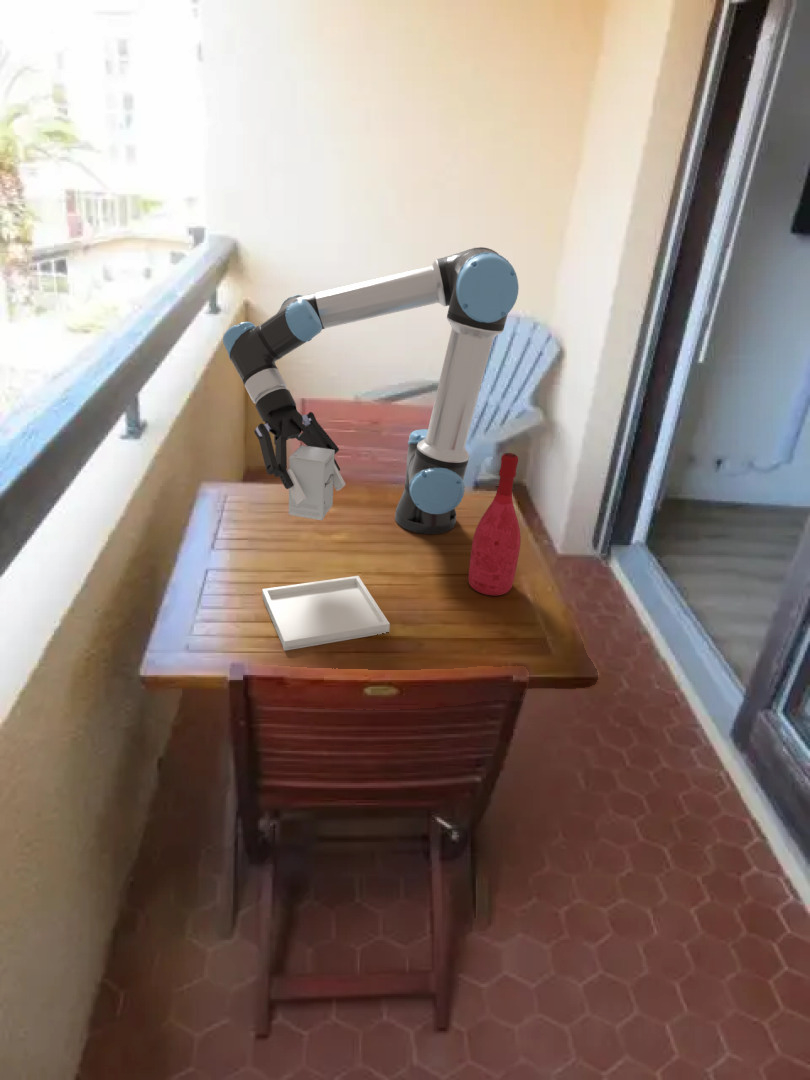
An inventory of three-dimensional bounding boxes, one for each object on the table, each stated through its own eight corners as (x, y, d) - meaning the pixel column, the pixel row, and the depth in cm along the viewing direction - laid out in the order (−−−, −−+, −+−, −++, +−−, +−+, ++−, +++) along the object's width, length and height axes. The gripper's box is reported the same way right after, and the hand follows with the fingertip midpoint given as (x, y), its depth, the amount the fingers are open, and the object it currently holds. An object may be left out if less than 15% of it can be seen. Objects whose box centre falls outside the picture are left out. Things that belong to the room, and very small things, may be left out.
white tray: (357, 583, 149) (358, 575, 148) (389, 632, 135) (389, 623, 134) (262, 597, 142) (262, 589, 141) (284, 650, 127) (284, 641, 127)
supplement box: (323, 521, 143) (324, 462, 137) (287, 515, 144) (287, 456, 138) (333, 506, 149) (335, 449, 143) (299, 500, 150) (300, 443, 144)
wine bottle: (516, 580, 156) (539, 451, 142) (507, 602, 148) (530, 467, 134) (473, 570, 158) (491, 441, 144) (461, 591, 150) (479, 457, 136)
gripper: (305, 397, 154) (352, 488, 153) (216, 416, 139) (268, 517, 137) (322, 378, 149) (371, 473, 147) (232, 396, 134) (286, 501, 132)
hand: (321, 494), depth 142 cm, fingers closed on supplement box, 10 cm apart
